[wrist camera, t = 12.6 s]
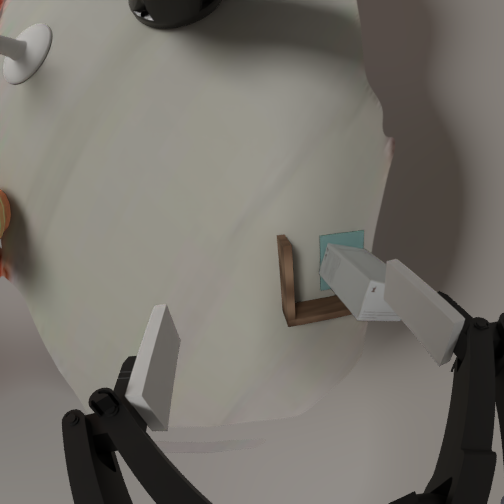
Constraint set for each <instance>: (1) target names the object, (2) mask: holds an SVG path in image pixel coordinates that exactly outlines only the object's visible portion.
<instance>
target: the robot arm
mask: <svg viewBox="0 0 504 504" xmlns="http://www.w3.org/2000/svg"><path fill="white" fill-rule="evenodd" d="M221 1H222V0H129V6H130V9H131V11H132V12H133V14H134V15H135V17H136V18H137V19H138V20H139V21H140V22H142V23H143V24H145V25H148V26H151V27H155V28H176V27H181V26H185V25H188V24H191V23H194V22H196V21H198V20H200V19H202V18H204V17H206V16H207V15H209V14H210V13H211V12H212V11H214V10H215V9H216V8H217V6H218V5H219V4H220V2H221ZM384 300H385V301H386V302H387V304H388V305H389V306H390V307H391V308H392V309H393V311H394V312H395V313H396V314H397V315H398V316H399V318H400V319H401V320H402V321H403V322H404V323H405V325H406V326H407V327H408V328H409V329H410V331H411V332H412V333H413V334H414V335H415V336H416V338H417V339H418V340H419V342H420V343H421V344H422V345H423V346H424V348H425V349H426V350H427V352H428V353H429V354H430V355H431V357H432V358H433V359H434V360H435V362H436V363H437V364H438V365H439V366H441V365H443V364H445V363H447V362H449V361H450V359H451V357H452V354H453V352H454V353H455V355H456V356H457V357H456V360H455V362H454V364H453V367H452V369H451V372H453V369H454V378H453V387H452V395H451V402H450V408H449V414H448V419H447V424H446V429H445V434H444V438H443V442H442V446H441V451H440V454H439V458H438V461H437V465H436V468H435V471H434V474H433V476H432V478H431V480H430V482H429V483H428V485H427V487H426V489H425V491H424V493H423V494H416V493H415V491H414V492H412V493H410V494H408V495H406V496H404V497H402V498H399V499H397V500H395V501H393V502H390V503H389V504H487V501H488V497H489V494H490V490H491V485H492V481H493V476H494V471H495V466H496V456H497V455H496V453H495V452H493V451H492V449H491V448H492V439H493V429H494V417H495V402H496V407H497V412H498V418H499V424H500V432H501V439H502V449H503V462H504V313H502V314H501V315H500V317H499V320H498V322H493V323H489V322H488V321H487V320H485V319H484V318H480V317H476V318H472V317H471V316H470V315H469V314H468V313H467V312H466V311H465V310H464V309H463V308H461V307H460V306H459V305H457V303H456V302H455V301H453V300H452V299H451V298H450V297H449V296H448V295H446V294H444V293H442V292H440V291H439V292H436V291H435V290H433V289H432V288H431V287H430V286H429V285H428V284H427V283H425V282H424V281H423V280H422V279H420V278H419V277H418V276H417V275H416V274H415V273H414V272H412V271H411V270H410V269H409V268H407V267H406V266H405V265H404V264H403V263H401V262H400V261H399V260H397V259H394V260H390V261H387V264H386V278H385V289H384ZM180 341H181V340H180V338H179V335H178V333H177V330H176V328H175V325H174V322H173V320H172V317H171V315H170V312H169V309H168V306H167V304H162V305H155V306H154V308H153V311H152V313H151V316H150V319H149V322H148V325H147V328H146V330H145V333H144V336H143V339H142V342H141V345H140V348H139V351H138V354H137V356H130V357H128V358H127V359H126V360H125V362H124V363H123V365H122V367H121V370H120V373H119V376H118V379H117V382H116V385H115V388H114V391H113V390H112V389H110V388H101V389H98V390H96V391H95V392H94V393H92V395H91V396H90V398H89V406H90V408H91V409H92V410H93V411H94V412H95V413H93V414H89V415H84V414H83V413H82V412H81V411H80V410H77V409H75V410H71V411H69V412H67V413H66V414H65V415H64V417H63V419H62V432H63V442H64V451H65V458H66V465H67V471H68V476H69V482H70V486H71V491H72V495H73V500H74V504H133V503H132V500H131V498H130V495H129V493H128V490H127V487H126V485H125V482H124V479H123V476H122V473H121V471H120V467H119V464H118V461H117V458H116V455H115V451H117V450H118V451H119V453H120V454H121V456H122V457H123V459H124V460H125V462H126V463H127V465H128V466H129V468H130V469H131V471H132V472H133V474H134V475H135V476H136V478H137V479H138V481H139V482H140V483H141V485H142V486H143V487H144V489H145V490H146V491H147V493H148V494H149V495H150V496H151V497H152V499H153V500H154V501H155V502H156V504H212V503H211V502H210V501H209V500H208V499H207V498H206V497H205V496H204V495H202V494H201V493H200V492H199V491H198V490H197V489H196V488H195V487H194V486H193V485H192V484H191V483H190V482H189V481H188V480H187V479H186V478H185V477H184V476H183V475H182V473H180V471H179V470H178V469H177V468H176V467H175V466H174V465H173V464H172V463H171V461H169V459H168V458H167V457H166V456H165V455H164V453H163V452H162V451H161V450H160V449H159V447H158V446H157V445H156V444H155V443H154V441H153V440H152V439H151V438H150V436H149V435H148V434H147V433H146V428H147V425H148V427H149V428H150V429H151V430H152V431H167V430H168V422H169V414H170V406H171V399H172V392H173V385H174V378H175V371H176V365H177V359H178V353H179V347H180ZM501 504H504V496H503V497H502V499H501Z"/></svg>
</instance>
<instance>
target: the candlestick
mask: <svg viewBox="0 0 504 504" xmlns="http://www.w3.org/2000/svg"><path fill="white" fill-rule="evenodd" d="M51 40H52V32H51V29H50V27H49V26H47V25H46V24H43V23H38V24H34V25H32V26H30V27H28V28H27V29H25V30H24V31H23V32H22V33H21V34H20V35H19V36H18V37H17V38H16V39H12V38H9V37H5V36H1V35H0V54H2V55H4V56H6V57H5V60H4V65H3V74H4V78H5V79H6V81H7V82H9V83H11V84H19V83H21V82H23V81H25V80H27V79H28V78H29V77H30V76H32V75H33V74H34V73H35V71H36V70H37V69H38V68H39V67H40V65H41V64H42V62H43V61H44V59H45V57H46V55H47V53H48V51H49V48H50V45H51Z"/></svg>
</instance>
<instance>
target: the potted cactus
mask: <svg viewBox="0 0 504 504" xmlns="http://www.w3.org/2000/svg"><path fill="white" fill-rule="evenodd" d="M10 218H11V211H10V203H9V201H8V199H7V196H6V194H5V193H4V192H3V191H2V190H0V239H1V237H2V235H3V232H4V231H5V230H6V229H7V228H8V227H9V223H10Z"/></svg>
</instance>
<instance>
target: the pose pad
mask: <svg viewBox="0 0 504 504" xmlns="http://www.w3.org/2000/svg"><path fill="white" fill-rule="evenodd" d="M363 242H364V230H360V231H353V232H345V233H337V234H330V235H322V236H320V267H321V264H322V261H323V258H324V254H325V251H326V247H327V244H328V243H332V244H338V245H345V246H350V247H356V248H361V249H363ZM327 289H331V288H330V286H329V285H328V284H327V283H326V282H325V281H324V279H323V278H322V277H321V276H320V290H327Z"/></svg>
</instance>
